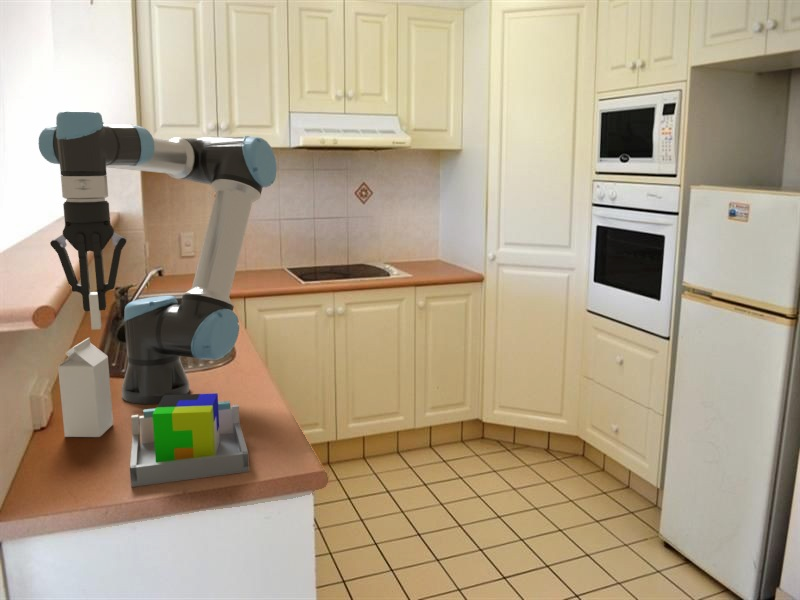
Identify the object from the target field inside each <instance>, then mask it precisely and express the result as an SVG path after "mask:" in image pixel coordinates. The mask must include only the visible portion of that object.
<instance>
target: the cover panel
mask: <svg viewBox="0 0 800 600" xmlns="http://www.w3.org/2000/svg"><path fill="white" fill-rule="evenodd" d="M156 408H157V407H155V408H147V409H146V408H145V409H143V410H142V411H143V415H139V430H140V444H144V443H152V442H154V428H153V412H154V411H155V409H156ZM218 411H219V432H220V435H222V434H231V433H233V418H232V406H231V402H230V400H226V401H225V400H224V401H218Z"/></svg>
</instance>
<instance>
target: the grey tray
mask: <svg viewBox="0 0 800 600" xmlns="http://www.w3.org/2000/svg"><path fill="white" fill-rule="evenodd" d="M231 407H232V418H233V433H231V434H222V435H220V443H219V447H218V450H217V453H216V455H213V456H205V457H197V458H189V459H181V460H173V461H165V462H157V463H156V457H155V442H152V443H144V444H141V432H140V415H139V414H132V415H131V428H132V441H131V449H130V451H131V452H130V463H129V472H130V474H129V476H130V488H135V487H143V486H150V485H155V484H156V485H157V484H164V483H173V482H182V481H187V480H194V479H202V478H203V479H204V478H208V477H209V478H211V477H219V476H224V475H232V474H233V475H235V474H238V473H239V474H240V473H247V472H248V473H249V472H250V463H249V462H250V459H249V450H248V447H247V445H246V441H245V438H244V434H243V431H242V428H241V424H240V408H239V407H240V406H239V404H232V405H231Z"/></svg>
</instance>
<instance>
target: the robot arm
mask: <svg viewBox="0 0 800 600" xmlns="http://www.w3.org/2000/svg"><path fill="white" fill-rule="evenodd" d="M55 123H56V125H51V126H47V127H45V128H43V129H42V131H41V132H40V134H39V136H38V150H39V152H40V155H41V156H42V157H43V158H44V159H45V160H46V161H47V162H48V163H50V164H54V165H55V164H56V165H59V171H60V183H61V193H62V198H63V199H66V200H65V201H64V203H63V205H62V206H63V216H64V227H63V229H62V234H61V235H60V236H58V237H56V238H54V239H51V241H50V242H49V243H50V246H51V247H52V248H53V249H54V252H56V253H57V256H58V258H59V262H60V264H61V267H62V270H63V272H64V275H65V278H66V281H67V283H68V285H69V284H70V285H71V286H72V292H75V293H79V294H81V297H82V307H83V310H84V312H90V324H91V325H90V327H91V330H92V331H93V330H101V328H102V315H101V314H102V313H101V311H106V307H107V297H106V293H107V292H108V291H111V290H114V289H115V287H116V282H117V277H118V272H119V271H118V270H119V265H120V260H121V255H122V250H123V248H124V247H125V245H126V244H127V241H128V239H127V237H126V236H121V235H120V234H117V233H116V232H115V230H114V227H113V226H112V223H111V214H110V204H109V203H110V202H108V200H106V198H108V197H109V187H108V175H107V174H108V173H107V168H108V169H119V170H130V171H138V172H139V171H140V172H149V173H151V172H152V173H158V174H159V173H161V174H167V175H168V176H169V177H170V178H173V179H175V180H176V179H177V180H178V179H179V180H185V181H191V182H194V183H200V184H205V185H211V187H212V188H213V190H214V191H215V195H214V199H213V205H212V209H211V213H210V216H209V220H208V224H207V228H206V231H205V235H204V238H203V239H204V240H203V243H202V247H201V250H200V255H199V259H198V262H197V268H196V271H195V275H194V278H193V281H192V286H191V288H190V289H189V290H188V291H186V292H184V293H183V294H182V297H181V301H180V304H178V300H177V297H176V296H174V295H160V296H159V295H158V296H151V297H146V298H141V299H135V300H133V301H130V302H128V303H127V304H126V305H125V306H124V314H123V315H124V319H123V323H124V335H125V345H126V356H127V368H126V371H125V375H124V378H123V382H122V386H121V397H122V399H123V400H125V401H126V402H128V403H132V404H139V405H153V404H156V405H157V404H159V403H160V401H161V399H162V398H163V396H164V395H183V394H189V393H190V382H189V378H188V376H187V374H186V371H185V369H184V366H183V364H182V361H181V357H187V358H195V359H197V360H201V361H204V360H211V361H216V360H217V361H218V360H221V359H223V358H224V357H225V356H226V355H228V354H229V353H230V352H231V351H232V350H233V348H234V346H235V344H236V343H237V340H238V337H239V334H240V333H239V332H240V324H239V318H238V315H237V314H236V312H234V307H235V305H234V303H233V302H232V300H231V299H230V296H231V292H232V287H233V284H234V283H233V282H234V279H235V275H236V270H237V267H238V263H239V258H240V254H241V251H242V250H241V249H242V246H243V241H244V237H245V235H246V229H247V225H248V221H249V217H250V213H251V210H252V205H253V203H255V202H257V201H258V200H260V198H261V195H262V191H263V188H268V187H270V186H271V185H273V184H274V183H275V181H276V177H277V160H276V156H275V153H274V149H273V148H272V147H271V145H270V144H269V143H268V141H267V140H265V139H264V138H262V137H258V136H257V137H256V136H249V135H245V136H203V137H194V138H193V137H191V138H190V137H189V138H188V137H187V138H185V137H184V138H183V137H173V138H171V139H169V140H167V139H163V138H161V139H160V138H154V137H153V135H152V134H151V132H150V131H149V130H148V129H147V128H145V127H143V126H139V125H134V124H104V121H103V116H102V114H101V113H100V112H98V111H91V110H90V111H89V110H62V111H59V112H58V113H57V115H56V121H55ZM111 239H112V246H113V247H114V250H113V254H112V260H111V264H110V270H109V275H108V281H107V283H106V282H105V273H104V272H105V270H104V258H103V250H104V249H105V248H106V246H107V244H108V243H109V242H110V240H111ZM66 240H67V242H68V243H69V244H70V245H71V246H72V247H73V248H74V250H76V251H77V256H78V264H79V276H80V277H79V278H80V283H79V281H78V279H77V275H76V274H75V270H74V268H73V265H72V262H71V259H70V257H69V254H68V251H67V249H66V247H67V245H68V244H67V242H66ZM88 252H93V259H94V260H93V261H94V270H95V271H94V272H95V280H96V291H92V292H91V286H90V273H89V272H90V271H89V262H88V261H89V260H88V258H89V257H88Z"/></svg>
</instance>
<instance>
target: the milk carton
mask: <svg viewBox="0 0 800 600" xmlns="http://www.w3.org/2000/svg"><path fill="white" fill-rule="evenodd" d="M65 356H67V358H66V359H64V361H62V362H60V364H58V366H57V372H58V380H59V381H58V382H59V390H60V392H59V393H60V399H61V400H60V401H61V410H62V411H61V412H62V422H63V433H64V437H65V438H100V437H102V436H103V435H104V434H105V433H106V432H107V431H108V430H110V428H111V427H112V426H114V417H113V404H112V391H111V380H110V379H111V378H110V366H109V356H108V355H107V354H106V353H104V352H103V351H102V350H101V349H99V348H98V347H96V346H95V345H94V344H93V343H91V337H87V338H86V339H84V340H82V341H81V342H79V343H78V344H76V345H74V346H73V347H71V348H70V349H69V350H67V351H66V352H65Z"/></svg>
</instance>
